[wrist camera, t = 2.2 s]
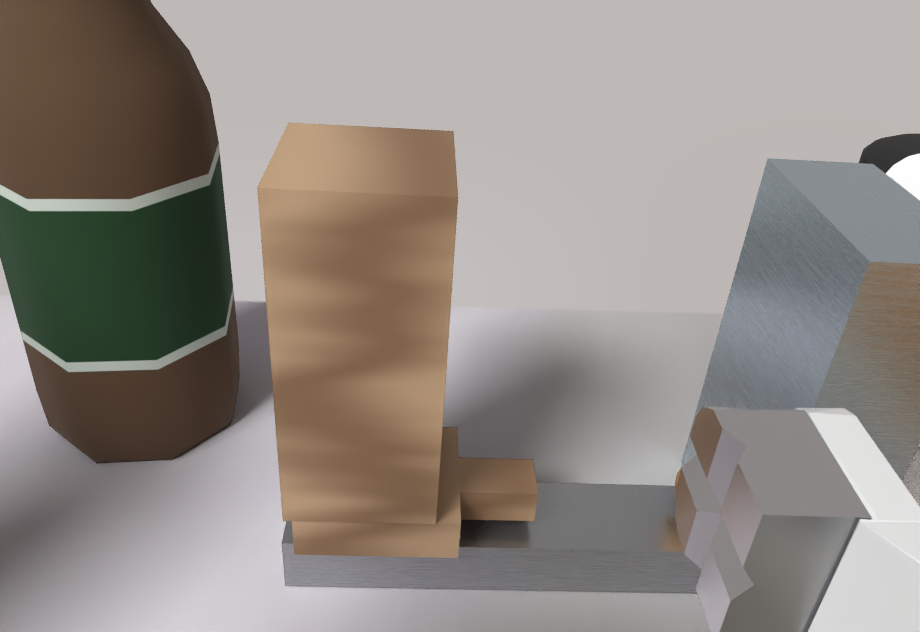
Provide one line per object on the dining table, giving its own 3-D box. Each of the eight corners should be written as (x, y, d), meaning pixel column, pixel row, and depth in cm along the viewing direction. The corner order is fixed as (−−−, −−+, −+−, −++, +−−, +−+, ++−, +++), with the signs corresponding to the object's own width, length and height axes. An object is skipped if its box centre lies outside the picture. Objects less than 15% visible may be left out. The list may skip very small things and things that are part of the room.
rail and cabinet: (282, 598, 25) (252, 234, 19) (310, 451, 31) (296, 134, 25) (839, 607, 27) (1005, 267, 20) (765, 464, 32) (872, 164, 26)
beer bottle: (216, 338, 38) (142, -295, 25) (272, 434, 32) (213, -315, 19) (35, 380, 34) (-158, -334, 21) (63, 497, 29) (-176, -372, 16)
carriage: (285, 555, 24) (257, 187, 18) (305, 455, 28) (288, 122, 22) (538, 560, 25) (599, 204, 18) (524, 460, 28) (570, 137, 22)
